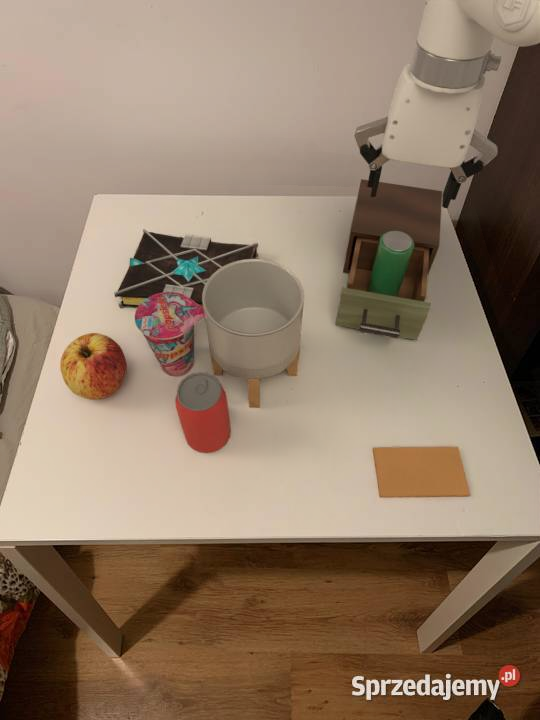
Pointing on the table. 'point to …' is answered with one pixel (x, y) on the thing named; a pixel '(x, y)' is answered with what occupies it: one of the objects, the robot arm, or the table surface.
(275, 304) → the planter
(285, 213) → the table surface
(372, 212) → the cabinet
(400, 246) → the green can
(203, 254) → the book
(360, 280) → the drawer
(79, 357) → the apple
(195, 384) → the beer can
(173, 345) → the cup
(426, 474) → the mat
